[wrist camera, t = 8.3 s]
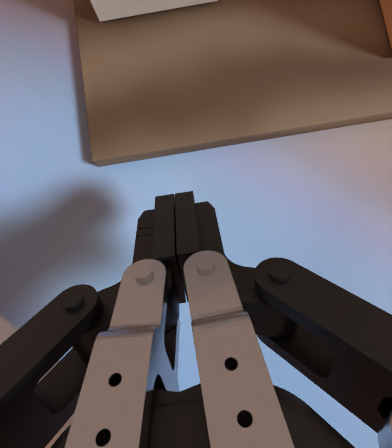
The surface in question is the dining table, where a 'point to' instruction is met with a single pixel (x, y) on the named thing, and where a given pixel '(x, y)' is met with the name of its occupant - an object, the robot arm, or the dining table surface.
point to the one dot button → (137, 7)
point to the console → (230, 74)
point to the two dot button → (387, 16)
